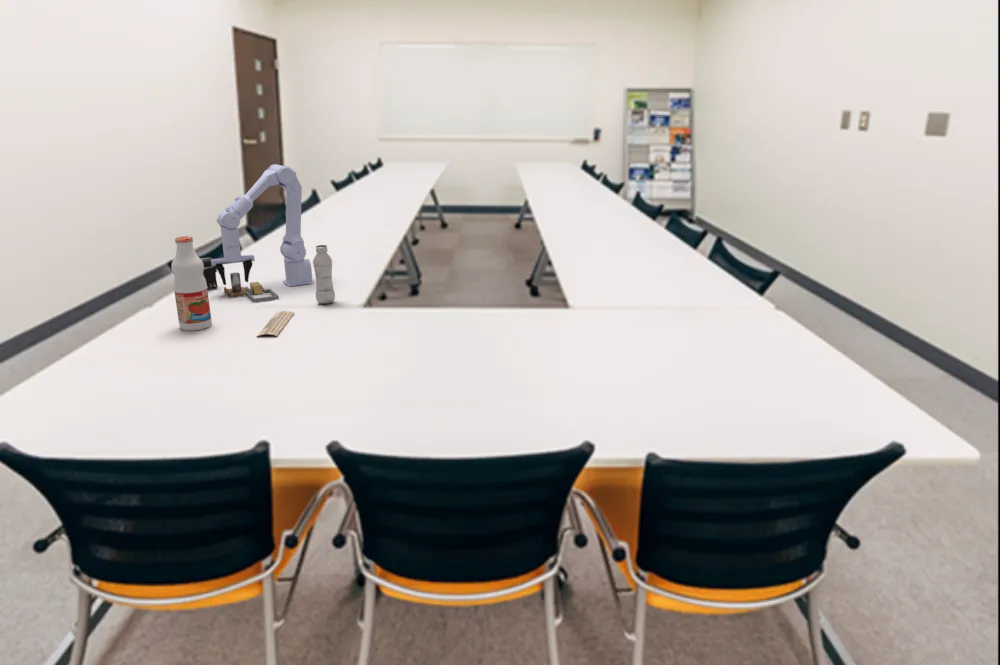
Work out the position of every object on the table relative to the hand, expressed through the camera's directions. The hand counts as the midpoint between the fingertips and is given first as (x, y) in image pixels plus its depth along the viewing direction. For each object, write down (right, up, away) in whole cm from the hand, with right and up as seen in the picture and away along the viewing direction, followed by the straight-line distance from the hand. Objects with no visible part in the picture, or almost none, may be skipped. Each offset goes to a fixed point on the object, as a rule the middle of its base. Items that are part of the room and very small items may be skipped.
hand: (235, 282), depth 264 cm
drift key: (+7, -3, +3) cm, 8 cm away
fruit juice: (0, -16, -35) cm, 38 cm away
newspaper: (+24, -16, -33) cm, 44 cm away
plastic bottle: (+35, -8, -10) cm, 37 cm away
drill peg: (0, -3, +1) cm, 3 cm away
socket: (+8, -4, 0) cm, 9 cm away
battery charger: (-12, -2, +7) cm, 14 cm away
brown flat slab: (0, -4, +1) cm, 4 cm away
